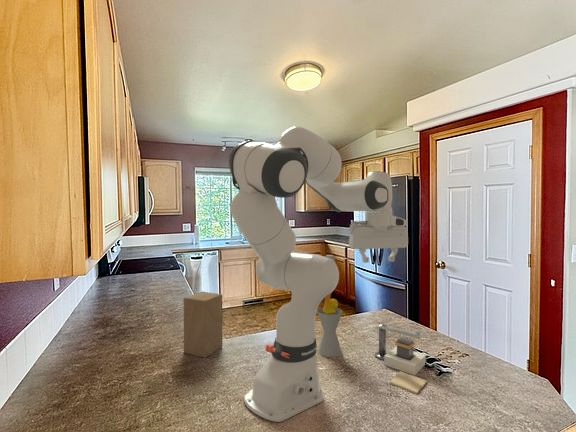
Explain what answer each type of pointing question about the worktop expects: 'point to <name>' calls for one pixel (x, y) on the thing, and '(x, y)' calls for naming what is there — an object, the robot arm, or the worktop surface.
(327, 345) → the lava lamp
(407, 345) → the plug
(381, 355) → the post
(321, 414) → the worktop surface
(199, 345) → the wooden block
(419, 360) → the socket
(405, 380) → the coaster
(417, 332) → the grey metal bar
